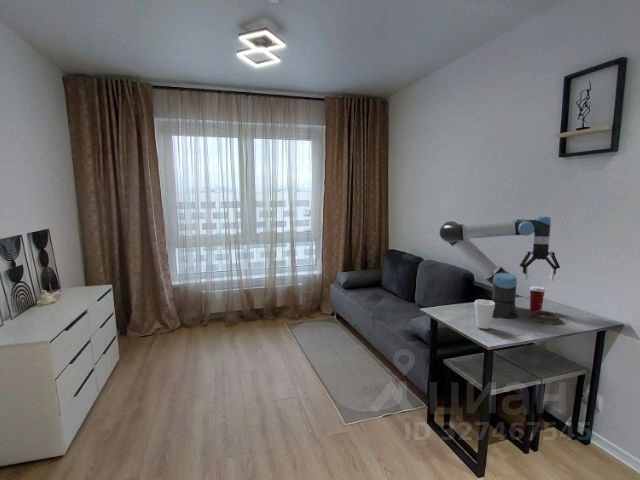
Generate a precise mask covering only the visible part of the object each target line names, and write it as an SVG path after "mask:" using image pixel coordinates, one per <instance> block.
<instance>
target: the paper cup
mask: <svg viewBox="0 0 640 480" xmlns="http://www.w3.org/2000/svg"><path fill="white" fill-rule="evenodd" d="M529 292H530V293H529V294H530V295H529V297H530V298H529V299H530V300H529V310H530V312H533V311H543V303H544V297H545V292H546V289H545V287H543V286H538V285H537V286H536V285H532V286H531V285H530V288H529Z"/></svg>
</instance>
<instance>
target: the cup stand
mask: <svg viewBox="0 0 640 480" xmlns="http://www.w3.org/2000/svg"><path fill="white" fill-rule="evenodd" d="M531 312H532V313H531V314H530V315H529V318H530V319H531V320H532V321H534V322H537V323H541V324H545V325H553V326H554V325H555V326H556V325H559V324H561V321H562V320H561V319H560V315H559V314H557V313H555V312H551V311H546V310H541V311H531Z"/></svg>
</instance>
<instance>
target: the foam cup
mask: <svg viewBox="0 0 640 480" xmlns="http://www.w3.org/2000/svg"><path fill="white" fill-rule="evenodd" d="M494 308H495V303H494V302H492V300H489V299H488V300H487V299H475V301H474V309H475V310H474V311H475V321H476V327H478V328H480V329H485V330H489V329H490V328H491V325H492V321H493V311H494Z"/></svg>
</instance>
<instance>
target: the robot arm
mask: <svg viewBox="0 0 640 480" xmlns="http://www.w3.org/2000/svg"><path fill="white" fill-rule="evenodd" d="M551 219H552V218H551V217H550V216H546V215H537V216H535V218H534V219H522V218H521V219H520V218H518V219H517V218H515V219H512V220H510V222H509V221H508V222H497V223H495V222H494V223H484V224H470V225H465V224H464V223H463V224H462V223H461V224H459V223H457V222H455V221H447V222H445V223H443V225H442V226H441V227H440V229H439V237H440V238H441V240H442V241H444V242H446V243H448V244H449V245H450V246H451V247H456V248H457V249H458V250H459V251H460V252H461V253H462V254H463V255H464V256H465V257H466V258H467V259H468V260H469V261H470V262H471V263H472V264H473V265H474V266H475V267H476V268H478V269H479V271H480V272H481V273H483V275H484V279H485V280H486V281H487V282H488V283H489V284H490V285H491V286H492V299H491V301H492V302H494V303H495V308H494V311H493V316H492V318H495V319H499V318H500V319H506V320H507V319H510V320H511V319H512V320H513V319H516V318H518V314H519V313H518V309H517V305H516V295H517V284H518V281H517V277H516V276H515V275H513V274H511V273H509V272H508V271H507V270H505V269H504V268H503V267H502V266H501V265H497V264H495V262H493V261H492V260H491V259H490V258H489V257H488V256H487V255H486V254H485V253H484V251H482V250H481V249H480V248H479V247H478V246H476V244H475V243H474V242H473V241H471V239H480V238H482V239H483V238H496V237H510V236H512V237H513V236H525V237H528V236H530V235H532V234H533V245H532V251H529V250H527V251H526V253H525V256H524V257H523V259H522V261H521V262H520V264H519V267H521V268H522V273H523V279H524V280H528V273H529V272H528V271H529V268H528V267H529V266H530V265H531V264H532V263H534V262H535V261H536V260H542V261H543V260H545V261H546V262H547V263H548V264H549V266H550V267H551V268H550V273H549V275H550V276H549V280H550V281H554V278H555V277H554V275H556V273H557V270H558V269H560V268H561V266H560V263H559V262H558V260H557V258H556V253H555V251H549V249H550V237H551V236H550V234H551V221H552V220H551ZM531 255H532V256H531ZM530 256H531V258H530ZM548 256H550V257H551V259H552V261H551V259H550V258H549V257H548Z"/></svg>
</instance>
